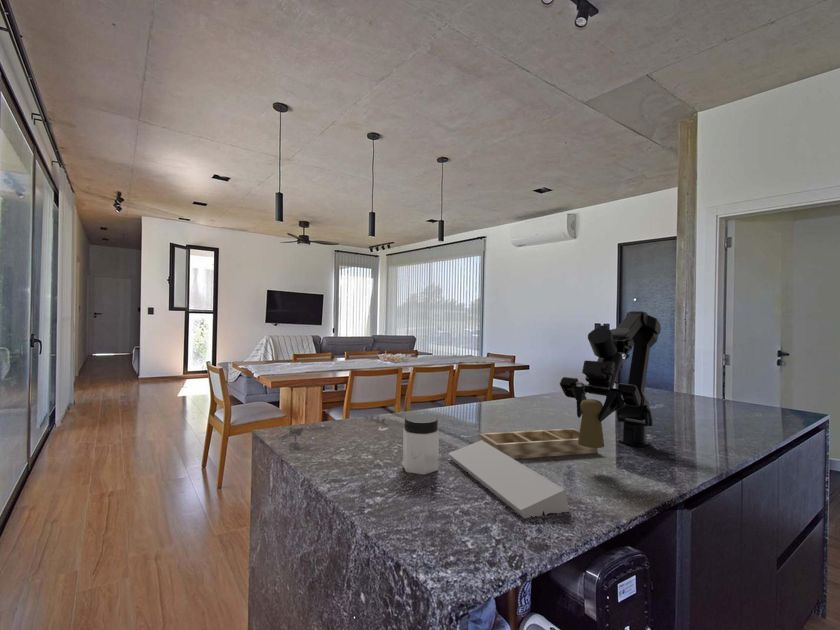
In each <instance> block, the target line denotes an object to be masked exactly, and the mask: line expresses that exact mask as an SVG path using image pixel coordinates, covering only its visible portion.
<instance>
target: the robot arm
mask: <svg viewBox="0 0 840 630" xmlns="http://www.w3.org/2000/svg"><path fill="white" fill-rule="evenodd" d="M661 329H662V328H661V323H660V322H659V320H658V319H657V318H656V317H654V316H651V315H649V314H648V313H647V312H646V311H642V310H641V311H640V310H638V311H637V310H635V311H634V310H633V311H632V310H631V311H628V312H626V316H625V317H624V319H623V320H622V321H621V322H620V323H619V324H618V325H617V327H616V328H613V329H609V326H608V324H607V325H606V324H605V325H604V324H603V325H601V324H600V325H599V327H598V328H595V329H593V330H591V331H590V332H588V334H587V340H588V342H589V345H590V347H591V349H592V352H593V355H594V357H598V359H596V360H597V361H596V360H584V361H583V367H582V372H581V373H582V375H585V378H584V379H585V381H586V382H587V383H588V384H587V383H586V384H585V383H583V382H581V381H580V380H579V379H578V378H577V377H568V376H563V377H562V378H561V380H560V382H559V386H560V387H561V390H562V392H563V394H564V395H565V397H567V398H570V399H575V400H576V416H577V417H578V418H582V413H583V412H582V411H581V408H580V404H581V402H582V400H585V399H588V398H587V396H586V395H587V394H589V395H597V396H603V397H605V401H604V403H603V404H602V405H603V407H602V410H601V412H600V416H599V421H601V422H603V421H605V419H607V417H609V416H610V415H612V414H613V413H614V412H615V411H616V417H617V422H619V423H623V428H622V439H618V442H619V443H622V444H626V445H628V446H633V447H637V448H639V447H645V446H646V447H647V446H650V445H652V444H651V442H649V441H646V440H647V438H646V437H647V436H646V434H647V427H653V426H654V425H653V422H654V421H653V420H654V419H653V418H654V417H653V413H652V411H651V407H650V406H649V400H648V398H647V396H646V394H645V389H646V379H647V372H648V366H649V359H650V353H651V348H652V347H653V346H654V345H655V344H656V343H657V342H658V337H659V335H660V334H661ZM631 350H632V355H631V362H630V367H629V374H628V381H627V383H624V382H623V383H622V382H620V383H618V374H619V372H620V369H622V368H623V356H622V354H623V355H624V354H625V355H628V354H629V353H630V352H631ZM615 384H617V385H618V386H617V388H614V386H615Z"/></svg>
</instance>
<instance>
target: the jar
mask: <svg viewBox="0 0 840 630" xmlns="http://www.w3.org/2000/svg"><path fill="white" fill-rule="evenodd" d="M402 438H403V441H402V443H403V444H402V467H403V469H404V470H405V472H406V473H408V474H409V473H410V474H417V475H422V476H423V475H424V476H425V475H427V474H430V473H434V472H436V471H439V449H440V448H439V446H440V445H439V444H440V443H439V440H440V432H439V419H438V418H437V417H435V416H432V415H431V416H430V415H425V414H424V415H423V414H422V415H421V414H417V415H415V414H414V415H409V416H406V417H405V418H404V427H403V435H402Z"/></svg>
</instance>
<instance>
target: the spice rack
mask: <svg viewBox="0 0 840 630" xmlns="http://www.w3.org/2000/svg"><path fill="white" fill-rule="evenodd" d="M579 432H580V429H579V430H578V429H576V428H558V429H555V428H554V429H543V430H541V429H540V430H539V429H538V430H537V429H536V430H523V431H505V432H504V431H502V432H501V431H500V432H486V433H478V437H479V438H478V441H481V440H482V441H484V442H486V443H487V444H489V445H491V446H492V447H494V448H496V449H497V450H499V451H501V452H502V453H504V454H506V455H507V456H509V457H511V458H512V459H514V460H519V458H521V459H530V458H543V457H559V456H561V457H562V456H572V455H586V454H597V453H599V452H598V449H599V448H589V447H585V446H581V445H579V444H578V439H579Z"/></svg>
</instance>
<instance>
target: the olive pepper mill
mask: <svg viewBox="0 0 840 630" xmlns="http://www.w3.org/2000/svg"><path fill="white" fill-rule="evenodd" d="M603 405H604V404H603V403H602V402H601V401H600V400H597V399H595V398H594V399H592V398H587V399H585V400H582V402H581V404H580V408H581V411H582V412H583V413H582V415H581V420H580V426H579V427H580V428H579V431H580V432H579V439H578V444H579V445H581V446H585V447H589V448H598V449H601V448H604V447H605V442H604V441H605V440H604V432H603V424H602V421H599V416H600V412H601V410H602V407H603Z"/></svg>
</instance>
